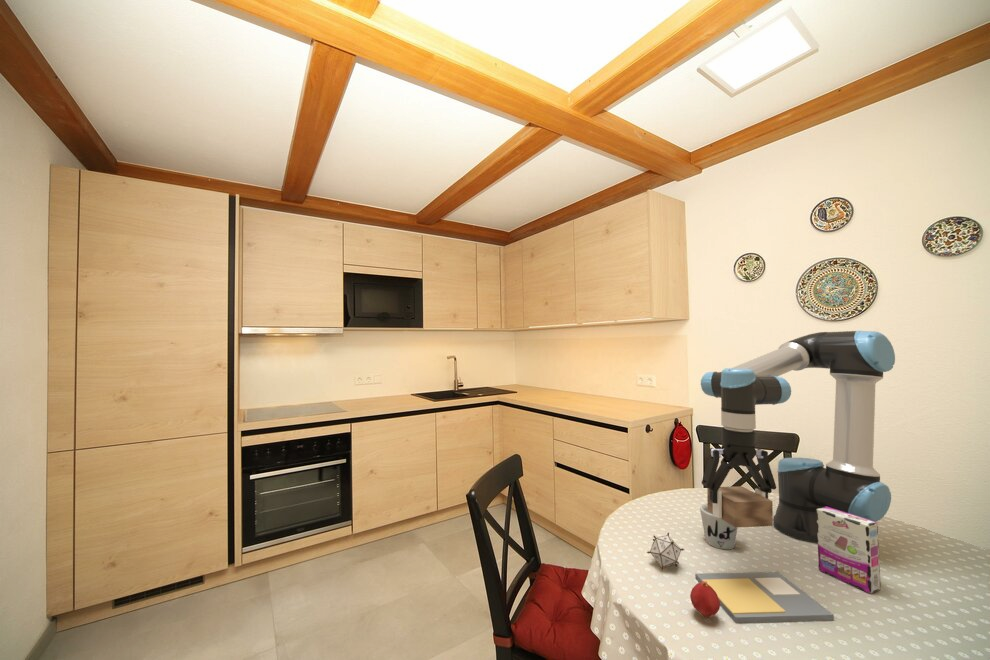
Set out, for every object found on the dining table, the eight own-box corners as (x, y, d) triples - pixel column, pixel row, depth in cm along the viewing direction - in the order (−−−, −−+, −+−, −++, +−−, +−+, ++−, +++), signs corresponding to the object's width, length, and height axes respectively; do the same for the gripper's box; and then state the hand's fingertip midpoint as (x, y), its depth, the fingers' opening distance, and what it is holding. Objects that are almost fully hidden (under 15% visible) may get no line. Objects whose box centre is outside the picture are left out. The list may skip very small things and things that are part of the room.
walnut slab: (741, 508, 104) (741, 486, 104) (772, 526, 94) (772, 501, 94) (707, 510, 103) (707, 487, 103) (735, 527, 93) (734, 502, 93)
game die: (673, 582, 104) (690, 565, 99) (642, 568, 106) (657, 549, 100) (672, 552, 111) (688, 533, 106) (643, 538, 113) (657, 520, 108)
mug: (702, 548, 114) (701, 514, 115) (697, 526, 128) (696, 495, 129) (743, 555, 111) (742, 520, 111) (733, 531, 124) (732, 500, 125)
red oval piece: (685, 608, 89) (684, 573, 89) (709, 607, 89) (708, 571, 89) (701, 627, 83) (700, 589, 83) (726, 625, 83) (725, 587, 84)
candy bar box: (882, 589, 95) (879, 522, 96) (871, 595, 93) (868, 526, 94) (828, 565, 105) (826, 505, 106) (817, 570, 103) (815, 508, 104)
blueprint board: (778, 576, 101) (777, 570, 101) (833, 620, 85) (833, 613, 85) (695, 578, 100) (695, 572, 100) (735, 623, 84) (735, 616, 84)
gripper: (771, 426, 103) (772, 510, 102) (686, 424, 103) (686, 509, 102) (793, 432, 95) (795, 523, 94) (701, 431, 95) (702, 522, 94)
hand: (738, 516), depth 98 cm, fingers closed on walnut slab, 10 cm apart
